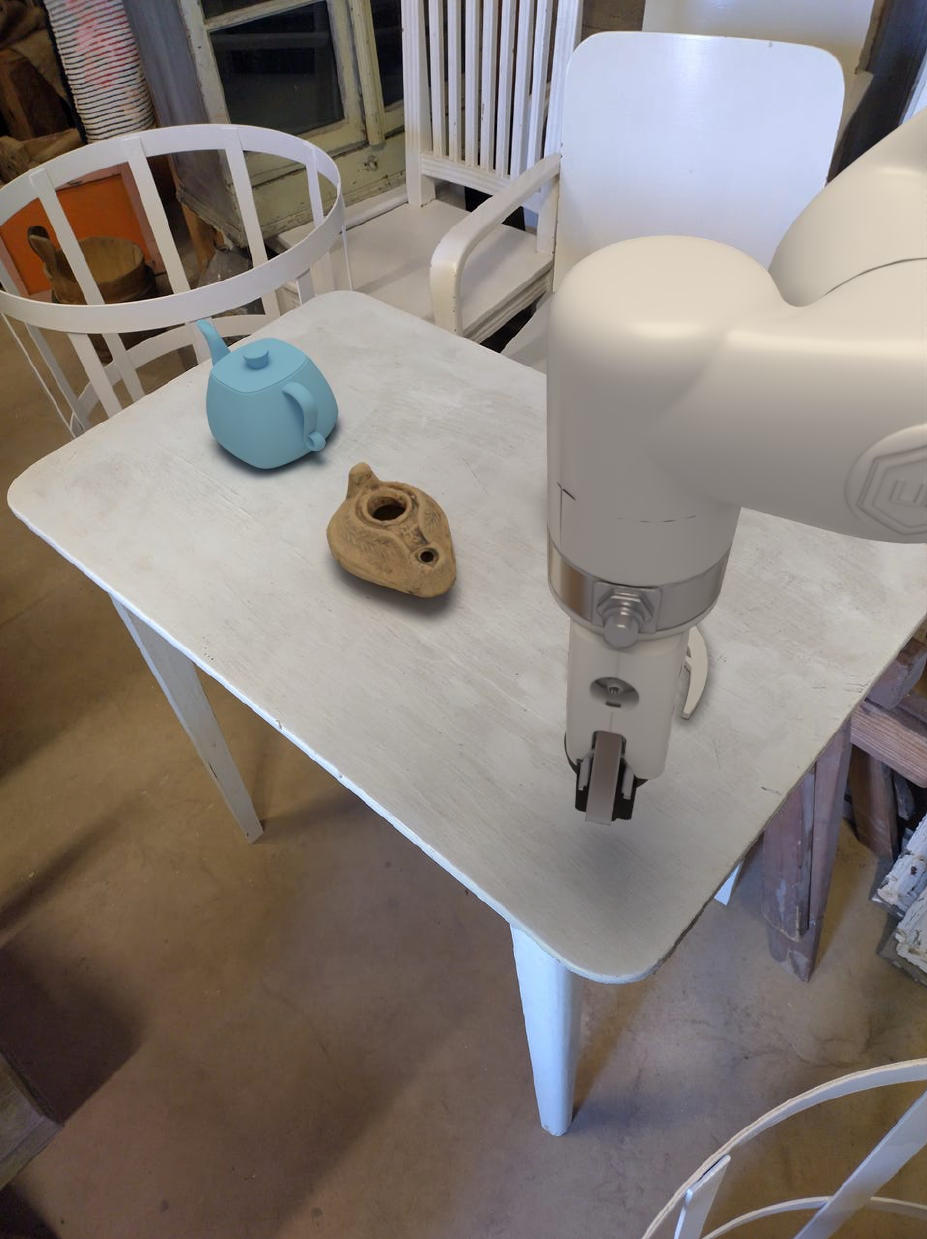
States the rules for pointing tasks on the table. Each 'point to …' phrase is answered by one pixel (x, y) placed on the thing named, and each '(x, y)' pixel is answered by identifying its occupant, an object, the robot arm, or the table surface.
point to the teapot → (266, 400)
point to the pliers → (695, 670)
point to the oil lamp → (392, 535)
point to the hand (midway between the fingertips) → (611, 761)
